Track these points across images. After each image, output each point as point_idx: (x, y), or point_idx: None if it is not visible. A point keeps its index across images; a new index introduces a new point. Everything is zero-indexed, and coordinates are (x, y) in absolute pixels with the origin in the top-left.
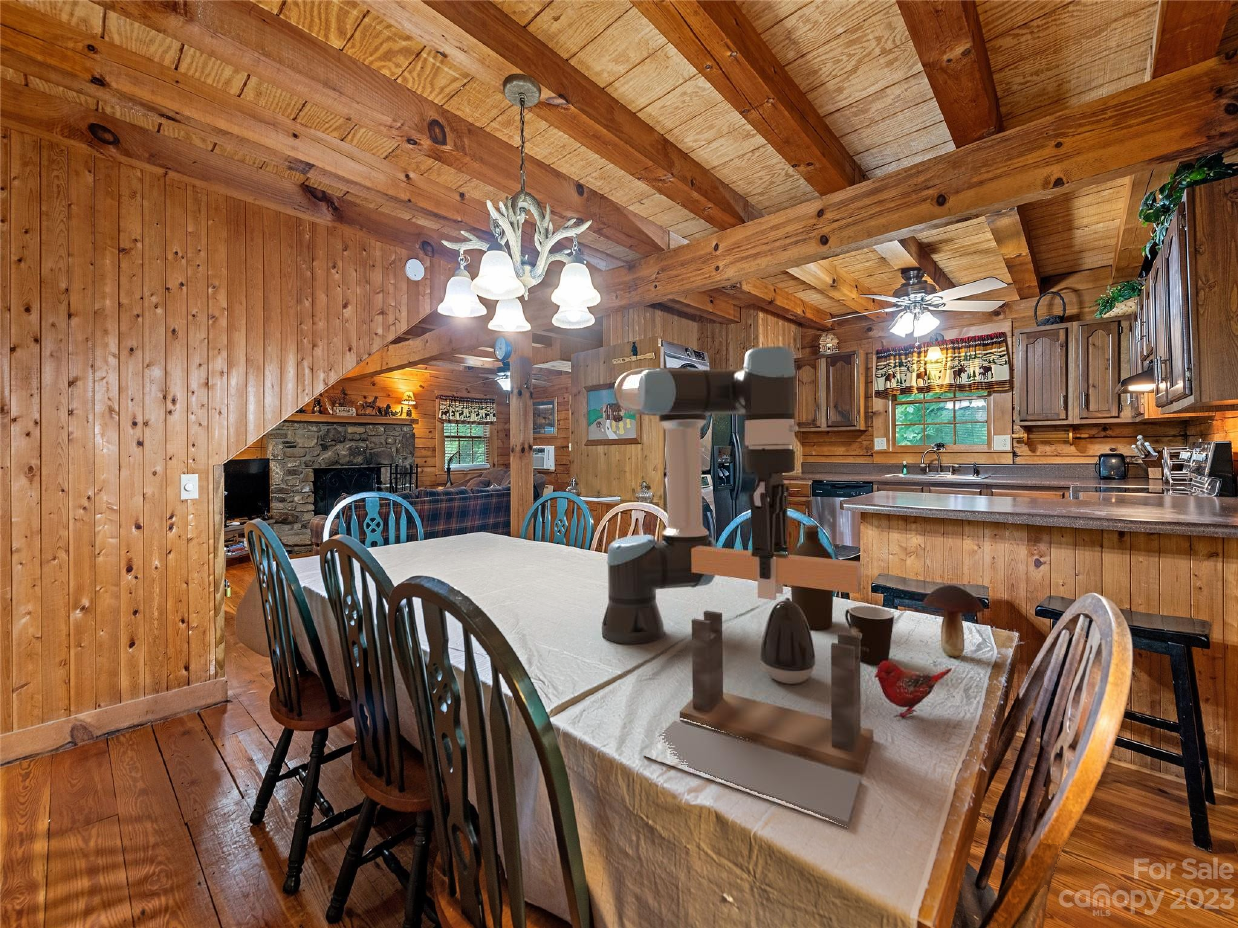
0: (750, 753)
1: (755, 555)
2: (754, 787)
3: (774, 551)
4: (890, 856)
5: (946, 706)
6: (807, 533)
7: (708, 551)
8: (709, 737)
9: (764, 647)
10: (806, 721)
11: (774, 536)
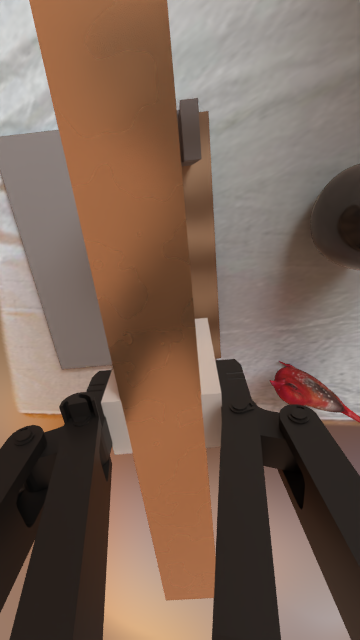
0: None
1: (69, 413)
2: (40, 291)
3: (221, 423)
4: (58, 393)
5: (338, 394)
6: None
7: (62, 137)
8: None
9: (344, 185)
10: (195, 295)
11: (107, 537)
